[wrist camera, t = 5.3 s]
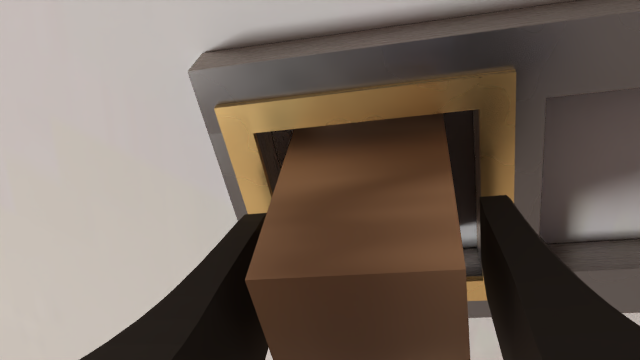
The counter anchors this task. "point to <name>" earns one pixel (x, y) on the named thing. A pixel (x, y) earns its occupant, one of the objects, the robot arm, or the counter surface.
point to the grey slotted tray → (435, 106)
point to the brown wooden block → (363, 246)
